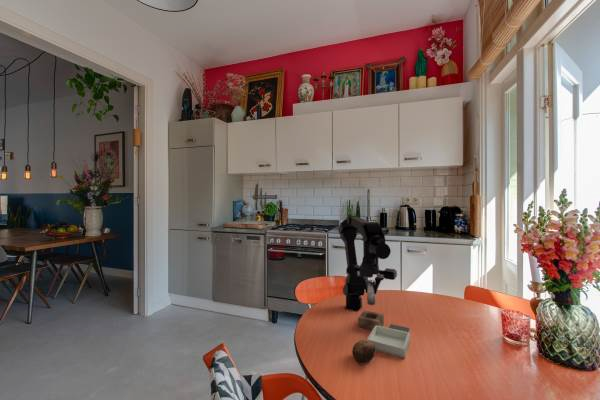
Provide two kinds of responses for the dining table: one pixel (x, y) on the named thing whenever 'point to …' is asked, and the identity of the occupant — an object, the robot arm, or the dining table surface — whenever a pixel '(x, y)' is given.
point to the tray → (390, 341)
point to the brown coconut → (363, 351)
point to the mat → (399, 328)
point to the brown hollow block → (370, 320)
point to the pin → (370, 292)
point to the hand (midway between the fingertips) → (371, 293)
